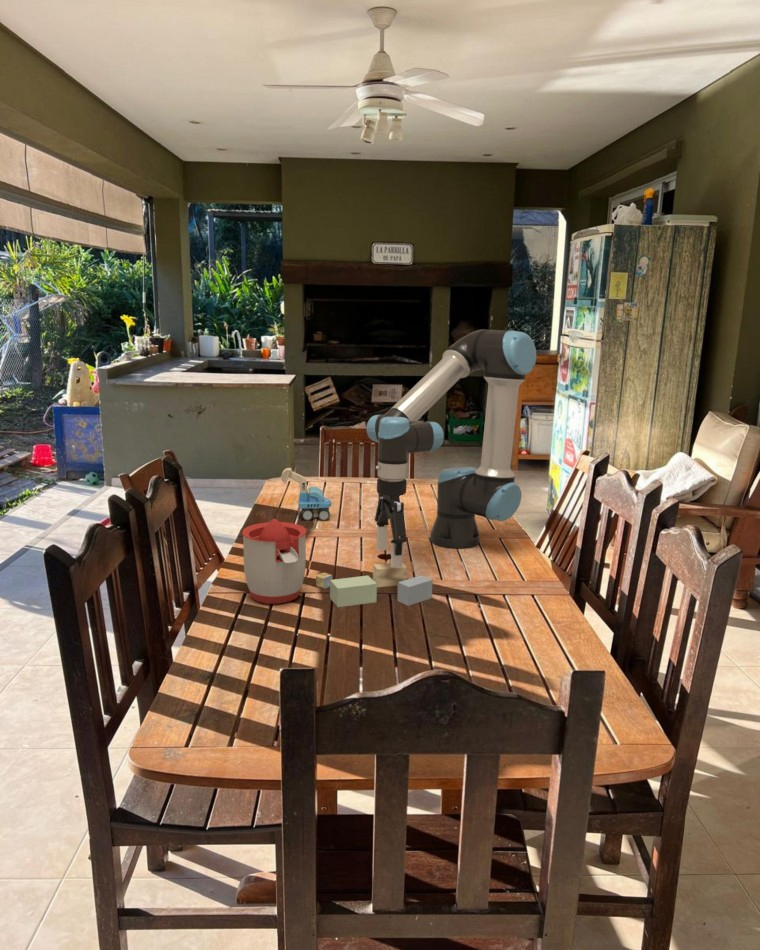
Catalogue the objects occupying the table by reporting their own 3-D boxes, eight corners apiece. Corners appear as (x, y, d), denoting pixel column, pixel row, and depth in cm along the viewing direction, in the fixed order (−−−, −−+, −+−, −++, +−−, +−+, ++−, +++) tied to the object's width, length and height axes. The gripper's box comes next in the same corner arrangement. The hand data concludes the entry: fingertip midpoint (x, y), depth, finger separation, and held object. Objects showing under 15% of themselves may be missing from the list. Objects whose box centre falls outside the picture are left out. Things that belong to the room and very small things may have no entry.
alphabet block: (324, 589, 193) (324, 577, 193) (315, 586, 195) (315, 574, 195) (332, 586, 195) (332, 574, 195) (324, 583, 198) (324, 571, 197)
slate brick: (420, 593, 192) (421, 575, 191) (431, 598, 189) (432, 579, 188) (397, 601, 187) (397, 582, 185) (408, 606, 184) (408, 587, 183)
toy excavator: (282, 514, 260) (282, 465, 256) (331, 514, 261) (331, 465, 257) (281, 521, 251) (280, 471, 248) (331, 521, 253) (331, 471, 249)
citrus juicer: (261, 616, 176) (260, 533, 171) (233, 591, 190) (231, 515, 186) (321, 603, 184) (321, 524, 180) (290, 580, 198) (289, 507, 194)
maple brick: (401, 579, 201) (402, 562, 200) (406, 585, 197) (406, 567, 196) (372, 582, 199) (373, 564, 198) (376, 587, 195) (377, 569, 194)
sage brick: (367, 594, 191) (368, 575, 190) (376, 602, 186) (376, 583, 184) (330, 599, 187) (330, 580, 186) (337, 608, 182) (337, 588, 181)
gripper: (365, 468, 202) (362, 544, 207) (391, 490, 179) (388, 575, 183) (391, 467, 204) (389, 543, 209) (421, 489, 181) (417, 573, 186)
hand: (388, 558), depth 196 cm, fingers open, 13 cm apart
